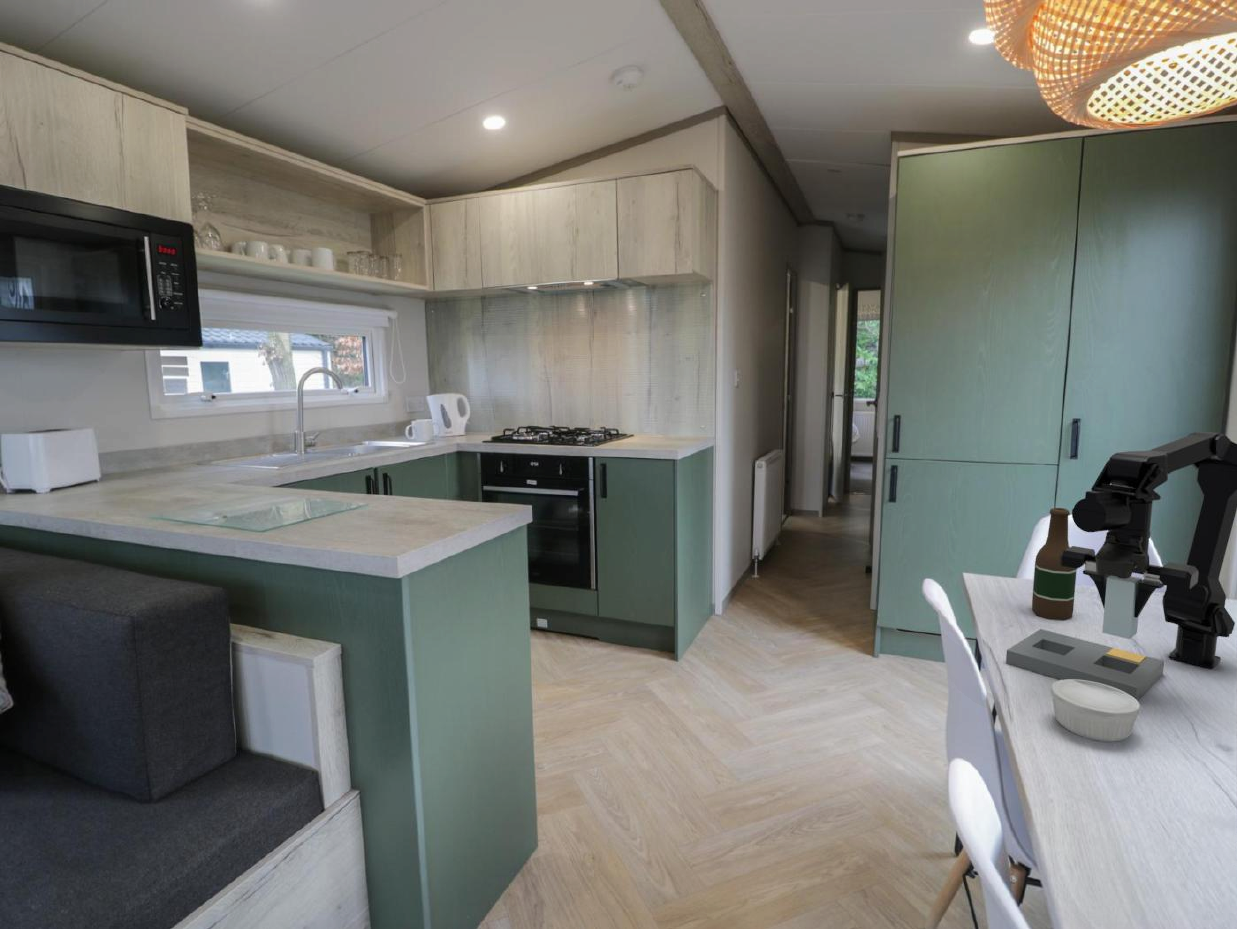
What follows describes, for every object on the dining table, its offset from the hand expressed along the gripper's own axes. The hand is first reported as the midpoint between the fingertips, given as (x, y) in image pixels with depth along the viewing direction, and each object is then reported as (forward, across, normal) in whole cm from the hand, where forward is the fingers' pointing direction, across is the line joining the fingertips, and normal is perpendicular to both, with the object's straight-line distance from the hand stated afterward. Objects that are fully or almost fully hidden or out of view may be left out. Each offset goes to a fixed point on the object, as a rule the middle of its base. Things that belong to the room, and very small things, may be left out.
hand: (1121, 613), depth 119 cm
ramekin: (+12, +3, -22) cm, 25 cm away
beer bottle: (+12, -19, +26) cm, 34 cm away
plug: (+4, 0, 0) cm, 4 cm away
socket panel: (+12, -5, 0) cm, 13 cm away
